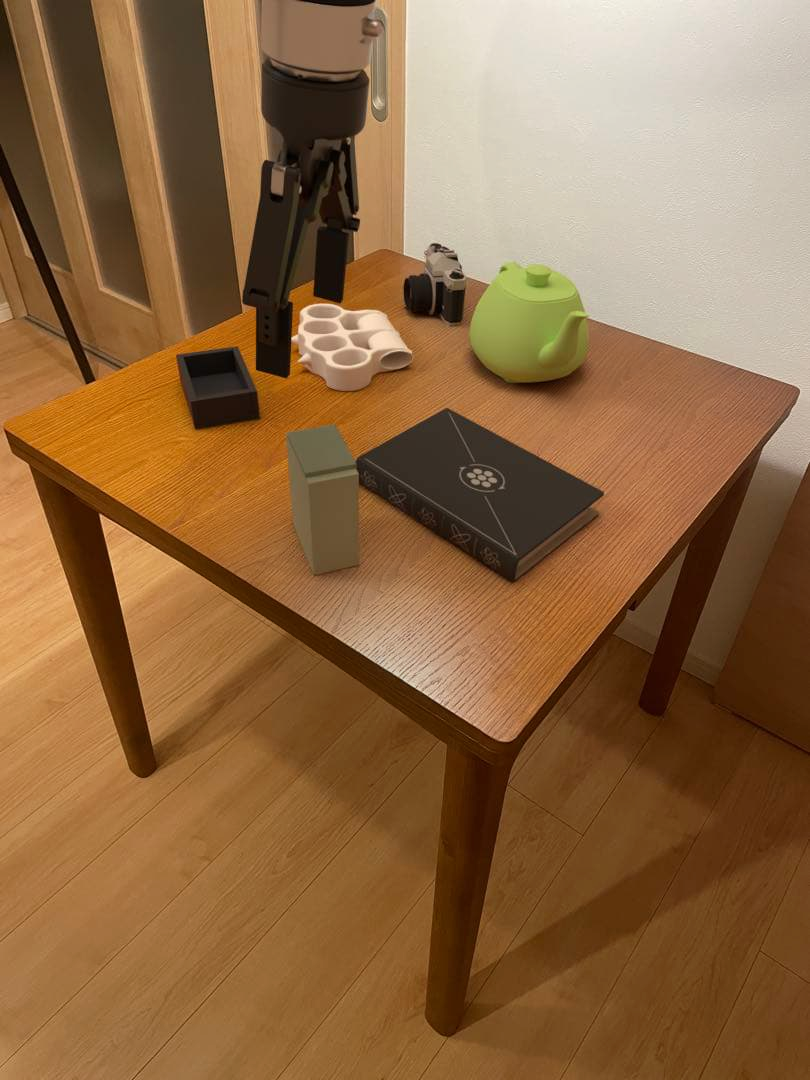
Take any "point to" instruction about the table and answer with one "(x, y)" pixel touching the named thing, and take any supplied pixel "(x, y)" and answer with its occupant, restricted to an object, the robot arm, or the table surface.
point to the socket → (217, 387)
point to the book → (479, 491)
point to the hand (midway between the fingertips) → (302, 333)
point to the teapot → (530, 325)
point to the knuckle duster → (348, 345)
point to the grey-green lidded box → (324, 497)
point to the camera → (438, 286)
